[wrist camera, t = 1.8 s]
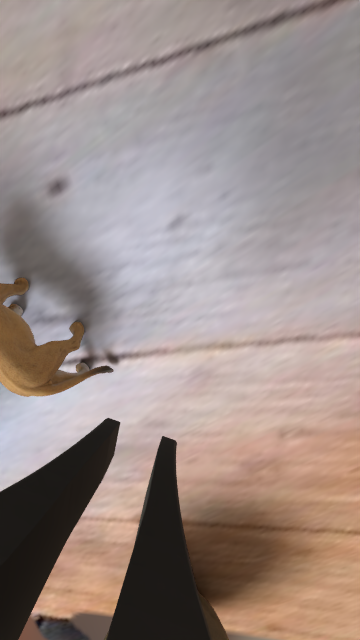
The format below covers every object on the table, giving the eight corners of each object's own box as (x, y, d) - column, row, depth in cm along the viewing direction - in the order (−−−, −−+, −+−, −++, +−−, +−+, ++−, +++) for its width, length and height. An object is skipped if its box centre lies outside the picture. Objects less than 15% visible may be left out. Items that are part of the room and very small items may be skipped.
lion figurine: (-28, 301, 22) (-190, 331, 13) (-13, 250, 20) (-187, 247, 11) (104, 387, 22) (29, 472, 13) (130, 344, 20) (63, 410, 12)
